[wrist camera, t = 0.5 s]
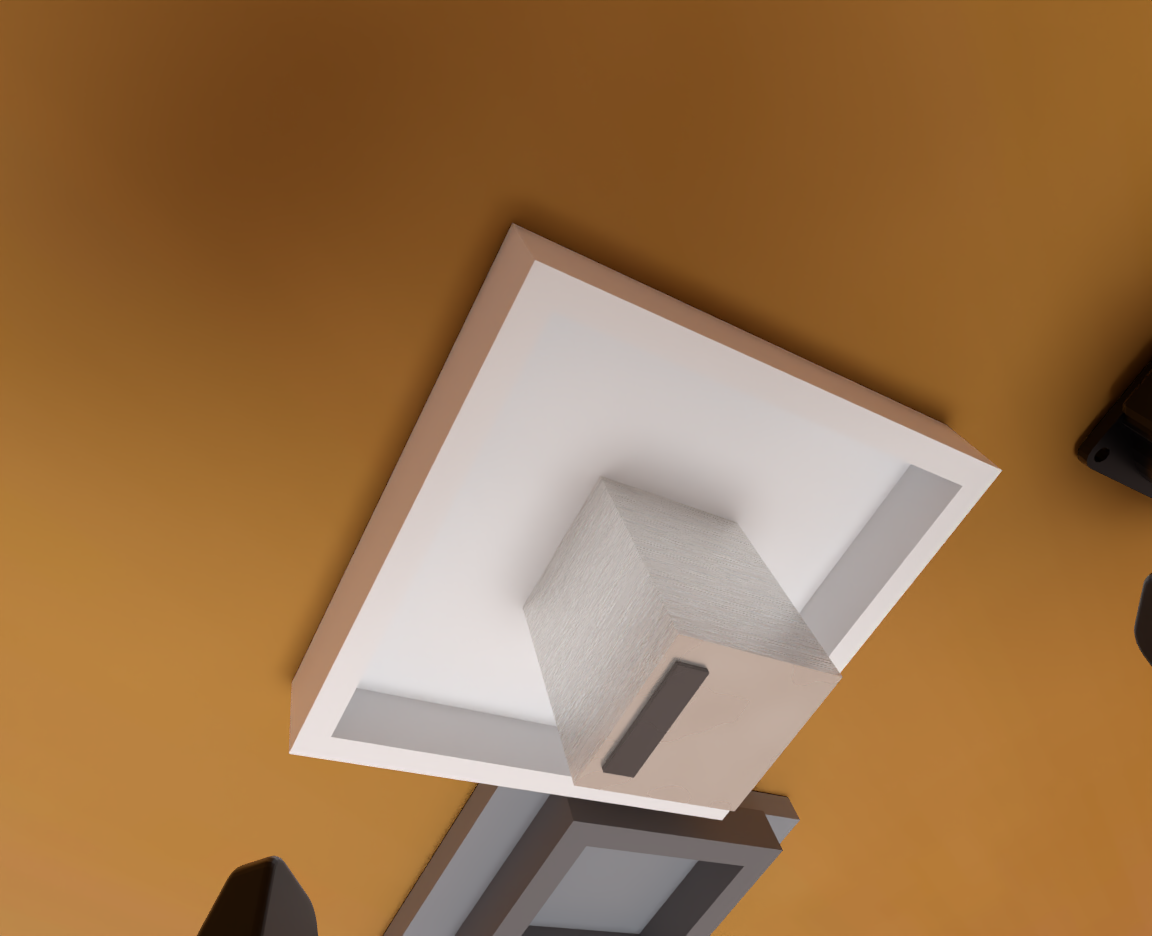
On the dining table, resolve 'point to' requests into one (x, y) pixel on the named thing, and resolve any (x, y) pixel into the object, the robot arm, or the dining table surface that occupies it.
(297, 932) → the robot arm
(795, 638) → the billet loose
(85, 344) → the dining table surface
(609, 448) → the white square tray
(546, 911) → the plate
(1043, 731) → the dining table surface
